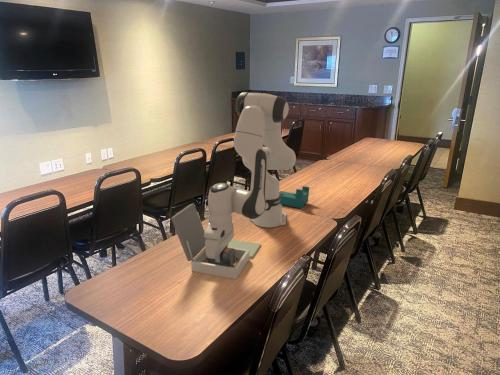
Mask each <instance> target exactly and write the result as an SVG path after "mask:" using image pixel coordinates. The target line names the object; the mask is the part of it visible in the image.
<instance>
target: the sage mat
mask: <svg viewBox="0 0 500 375" xmlns="http://www.w3.org/2000/svg"><path fill="white" fill-rule="evenodd" d="M261 246H262V244H261V243H257V242H250V241H246V240H245V241H244V240H237V239H232V240H231V241H230V242H229V243H228V247H233V248H239V249H245V250H249V259H254V256H255V255H256V253H258V250H259V249H260V247H261Z"/></svg>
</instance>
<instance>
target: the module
mask: <svg viewBox="0 0 500 375" xmlns="http://www.w3.org/2000/svg"><path fill="white" fill-rule="evenodd" d="M220 257H221V261H220V262H219V263H218V262H216V261H215V259H211V258H206V259H207V260H206V261H207V262H206V263H209V264H215V265H220V266H226V267H232V268H233V266H234V265H235V264H236V258H235V249H233V248H228V247H225V248H224V249H223V251H222V252H221V253H220Z"/></svg>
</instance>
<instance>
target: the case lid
mask: <svg viewBox="0 0 500 375" xmlns="http://www.w3.org/2000/svg"><path fill="white" fill-rule="evenodd" d="M170 219H171V222H172V224H173V226H174V229H175V233H176V234H177V237H178V239H179V242H180V245H181V247H182V250H183V252H184V254H185V257H186V260H187V262H190V261H191V262H192V260H191V257H190V253H189V250H188V247H187V244H186V241H188V243H189V246H190V249H191V253H192V256H193V259H194V258H195V257H196V256H197V255H198V254H199V253H200V252H201V251H202V250H203V249H204V248H205V240H206V238H205V237H204V232H205V229H204V227H203V223H202V221H201V219H200V216H199V213H198V211H197V208H196V205H195V202H193V203H191V204H189V205H187V206H186V207H184V208H183V209H182V210H180V211H179V212H178V213H176V214H175V215H173V216H171V218H170Z"/></svg>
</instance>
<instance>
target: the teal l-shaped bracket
mask: <svg viewBox="0 0 500 375" xmlns="http://www.w3.org/2000/svg"><path fill="white" fill-rule="evenodd" d="M295 190H296V191H295V193H294V192H288V191H284V190H283V191H282V190H279V194H280V203H281V205H282V206H288V207H293V208H297V209H302V208H304V207H305V204H307V203H309V196H310V187H309V186H306V185H303V186H302V188H301V189H298V188H296V189H295Z"/></svg>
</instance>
